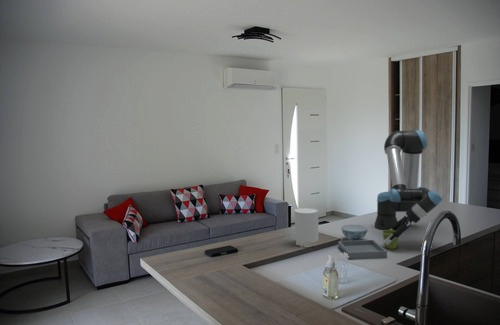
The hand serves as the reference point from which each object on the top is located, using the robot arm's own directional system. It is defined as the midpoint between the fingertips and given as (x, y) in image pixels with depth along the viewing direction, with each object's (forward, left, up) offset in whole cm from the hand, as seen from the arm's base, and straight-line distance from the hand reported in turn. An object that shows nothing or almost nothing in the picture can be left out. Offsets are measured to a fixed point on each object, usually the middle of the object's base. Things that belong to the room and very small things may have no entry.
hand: (385, 240), depth 215 cm
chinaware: (-14, -13, -4) cm, 20 cm away
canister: (-11, -42, -4) cm, 44 cm away
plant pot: (+1, +3, -4) cm, 5 cm away
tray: (+7, -16, -4) cm, 17 cm away
